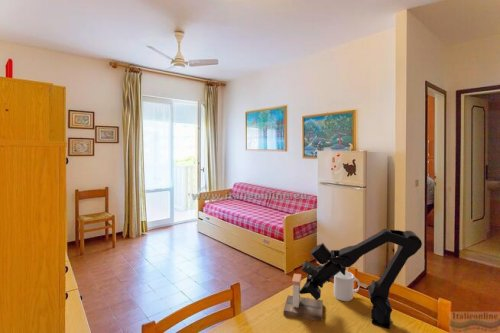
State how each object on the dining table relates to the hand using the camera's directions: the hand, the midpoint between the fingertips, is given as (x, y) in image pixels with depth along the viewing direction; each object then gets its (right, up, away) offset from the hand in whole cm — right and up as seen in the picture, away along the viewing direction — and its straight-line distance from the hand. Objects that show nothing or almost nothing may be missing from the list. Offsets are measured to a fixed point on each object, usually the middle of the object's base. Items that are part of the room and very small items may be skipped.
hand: (300, 292), depth 121 cm
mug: (+24, -6, +10) cm, 26 cm away
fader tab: (-1, -5, +1) cm, 5 cm away
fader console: (+2, -7, 0) cm, 7 cm away
